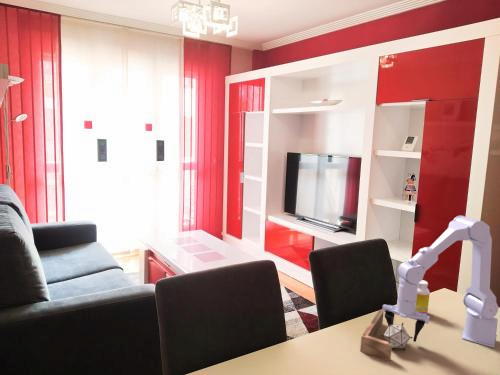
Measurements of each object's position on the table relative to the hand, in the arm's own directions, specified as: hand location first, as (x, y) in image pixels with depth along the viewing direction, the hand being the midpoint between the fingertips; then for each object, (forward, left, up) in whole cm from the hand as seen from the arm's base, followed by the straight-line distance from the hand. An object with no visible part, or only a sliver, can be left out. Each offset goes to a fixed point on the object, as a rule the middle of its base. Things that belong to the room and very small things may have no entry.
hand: (402, 336), depth 127 cm
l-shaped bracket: (+5, +3, -2) cm, 7 cm away
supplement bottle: (-1, -28, -2) cm, 28 cm away
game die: (+1, +6, -2) cm, 6 cm away
